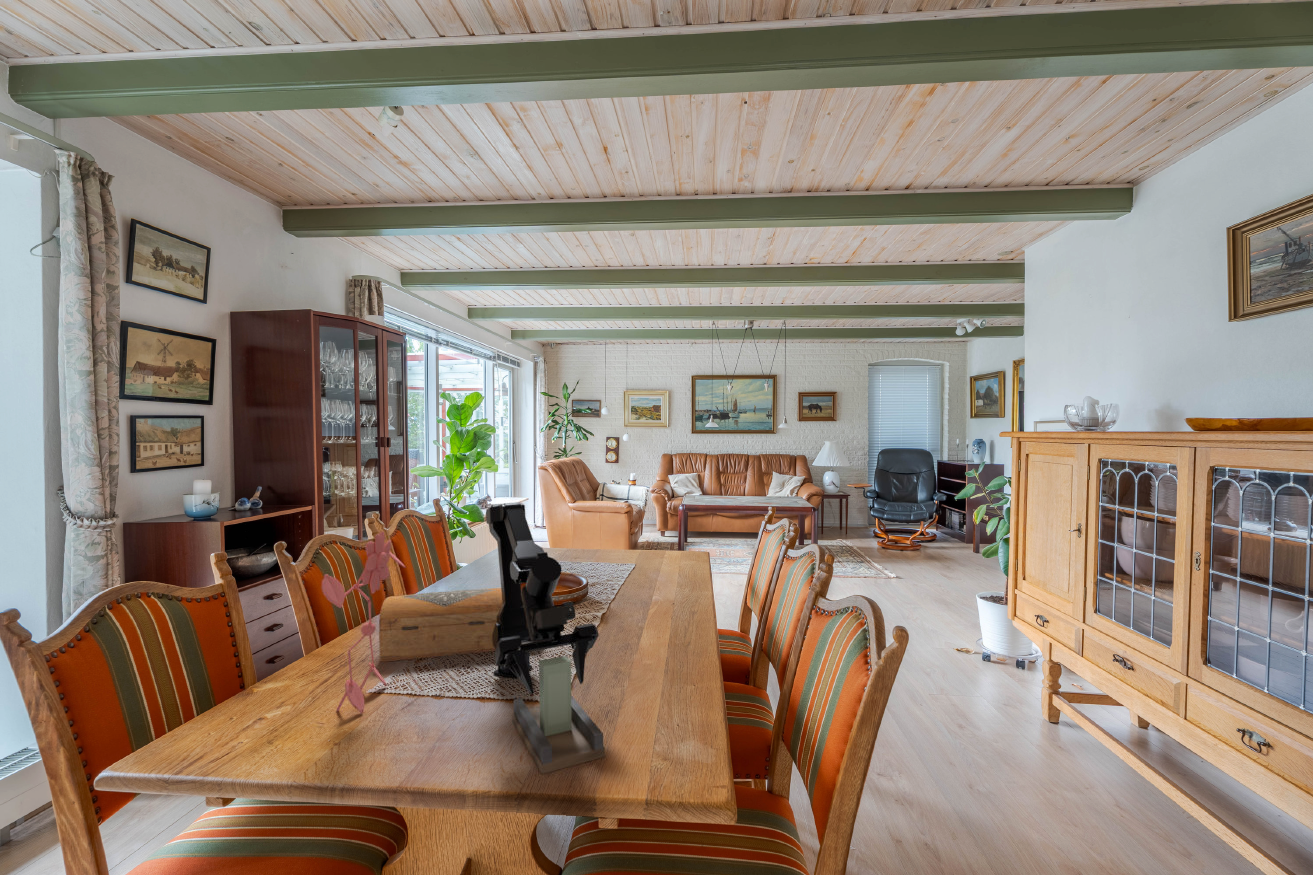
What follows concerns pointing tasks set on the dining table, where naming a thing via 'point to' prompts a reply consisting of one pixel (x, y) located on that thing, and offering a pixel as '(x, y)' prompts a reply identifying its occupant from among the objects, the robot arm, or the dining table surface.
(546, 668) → the sage green panelled box
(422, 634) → the wooden box
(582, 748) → the door track
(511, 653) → the robot arm
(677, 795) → the dining table surface
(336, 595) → the pink leafy branch
